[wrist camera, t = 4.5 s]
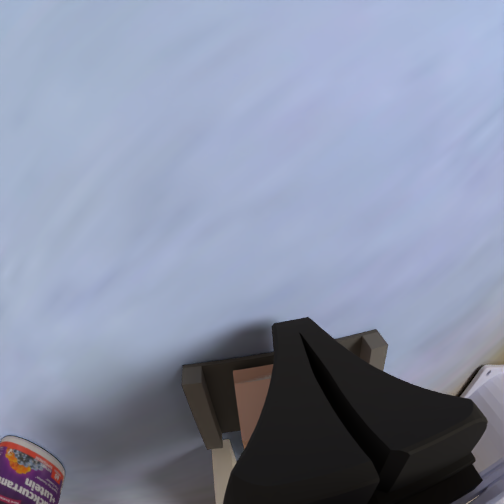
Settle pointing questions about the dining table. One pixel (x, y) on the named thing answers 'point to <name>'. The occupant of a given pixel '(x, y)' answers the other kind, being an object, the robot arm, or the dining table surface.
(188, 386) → the pit tray
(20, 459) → the pill bottle
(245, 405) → the sled
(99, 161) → the dining table surface
